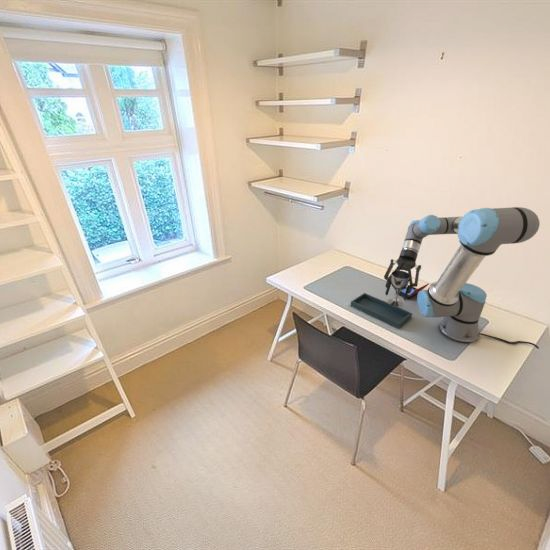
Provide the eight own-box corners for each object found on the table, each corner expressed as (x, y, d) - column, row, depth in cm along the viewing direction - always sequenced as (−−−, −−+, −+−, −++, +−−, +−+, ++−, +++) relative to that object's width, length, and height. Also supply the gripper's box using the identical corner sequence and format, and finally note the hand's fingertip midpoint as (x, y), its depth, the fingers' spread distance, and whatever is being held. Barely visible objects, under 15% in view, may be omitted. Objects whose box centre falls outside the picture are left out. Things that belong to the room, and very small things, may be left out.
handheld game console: (409, 287, 178) (412, 275, 174) (427, 295, 170) (430, 283, 166) (395, 293, 171) (397, 281, 168) (413, 302, 163) (415, 290, 160)
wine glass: (405, 307, 144) (411, 279, 137) (387, 306, 145) (392, 278, 138) (403, 298, 151) (408, 271, 144) (385, 297, 152) (390, 269, 145)
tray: (411, 318, 151) (412, 313, 150) (398, 328, 144) (399, 323, 143) (363, 297, 169) (364, 292, 167) (350, 306, 162) (351, 301, 160)
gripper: (432, 259, 146) (419, 305, 141) (388, 250, 155) (374, 293, 151) (433, 253, 139) (419, 300, 135) (387, 244, 149) (372, 288, 145)
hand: (395, 296), depth 143 cm, fingers closed on wine glass, 7 cm apart
